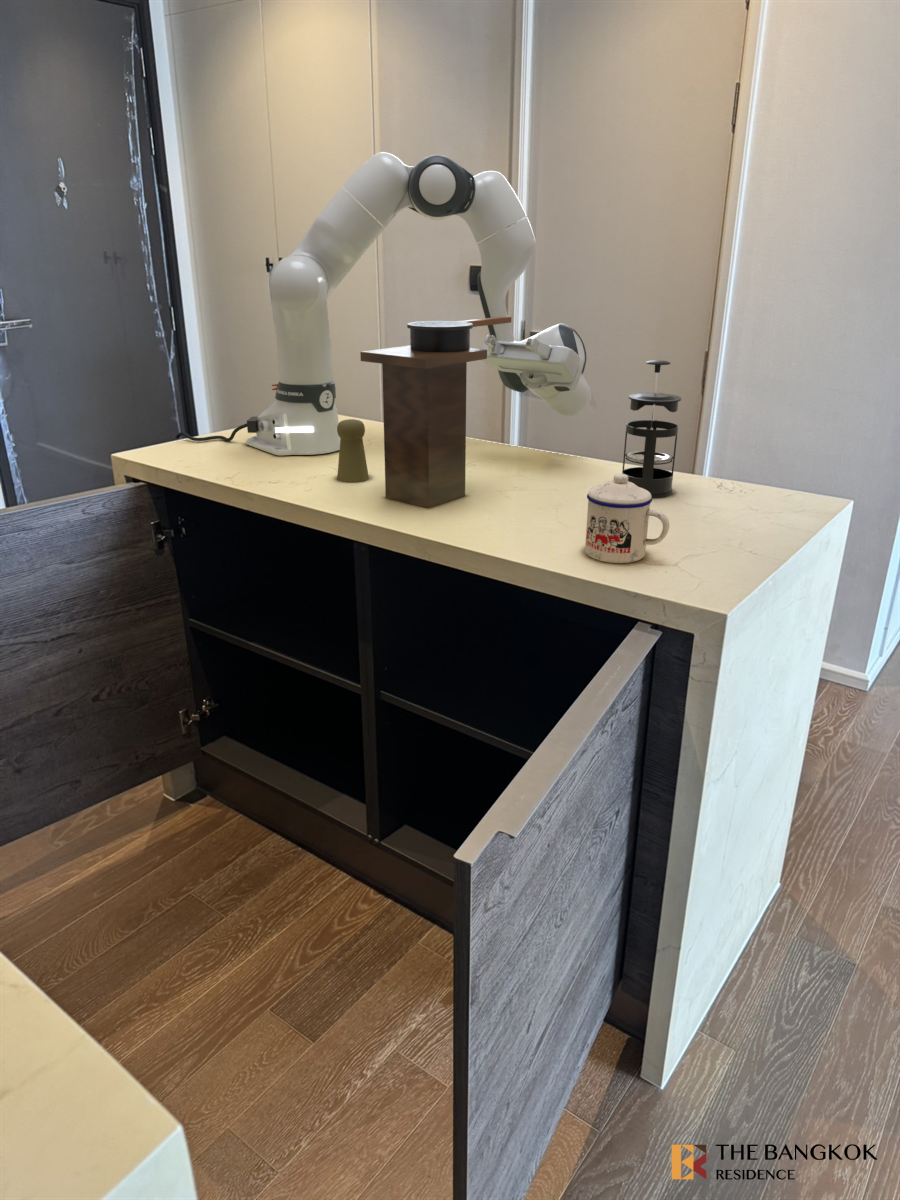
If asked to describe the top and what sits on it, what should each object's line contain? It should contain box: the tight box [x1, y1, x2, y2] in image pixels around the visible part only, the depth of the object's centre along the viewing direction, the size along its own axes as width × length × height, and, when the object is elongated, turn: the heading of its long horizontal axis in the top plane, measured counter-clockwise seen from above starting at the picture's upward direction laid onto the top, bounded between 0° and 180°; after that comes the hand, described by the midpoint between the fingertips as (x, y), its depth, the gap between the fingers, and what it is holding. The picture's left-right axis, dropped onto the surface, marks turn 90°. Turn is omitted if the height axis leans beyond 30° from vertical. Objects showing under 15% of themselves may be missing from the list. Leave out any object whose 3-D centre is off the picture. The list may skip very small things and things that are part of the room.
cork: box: [336, 418, 370, 483], centre depth 162 cm, size 6×6×11 cm
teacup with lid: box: [584, 473, 670, 564], centre depth 122 cm, size 12×9×12 cm
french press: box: [621, 359, 682, 499], centre depth 152 cm, size 12×9×23 cm
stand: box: [359, 344, 487, 509], centre depth 147 cm, size 14×16×25 cm
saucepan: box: [406, 316, 513, 352], centre depth 150 cm, size 11×25×4 cm, turn 141°
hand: (508, 340), depth 160 cm, fingers open, 8 cm apart
